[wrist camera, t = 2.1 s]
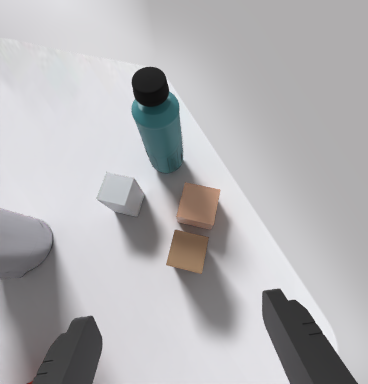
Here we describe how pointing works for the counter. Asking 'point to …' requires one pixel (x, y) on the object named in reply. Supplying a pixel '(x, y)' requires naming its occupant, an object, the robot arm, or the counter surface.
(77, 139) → the counter surface
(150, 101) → the beverage bottle
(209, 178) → the counter surface
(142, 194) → the grey post
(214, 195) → the terracotta block
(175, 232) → the tan rectangular block
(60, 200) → the counter surface
